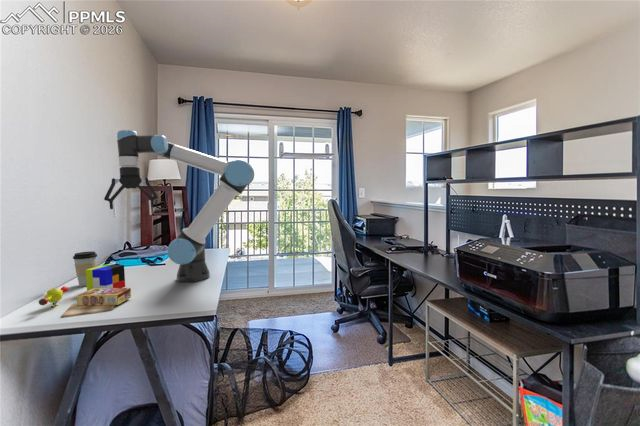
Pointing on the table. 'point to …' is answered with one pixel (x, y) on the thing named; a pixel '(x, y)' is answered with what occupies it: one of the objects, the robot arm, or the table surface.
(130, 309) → the table surface
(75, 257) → the coffee cup
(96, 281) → the puzzle toy
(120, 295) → the candy box
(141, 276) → the table surface
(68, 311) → the cork mat
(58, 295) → the toy figure
